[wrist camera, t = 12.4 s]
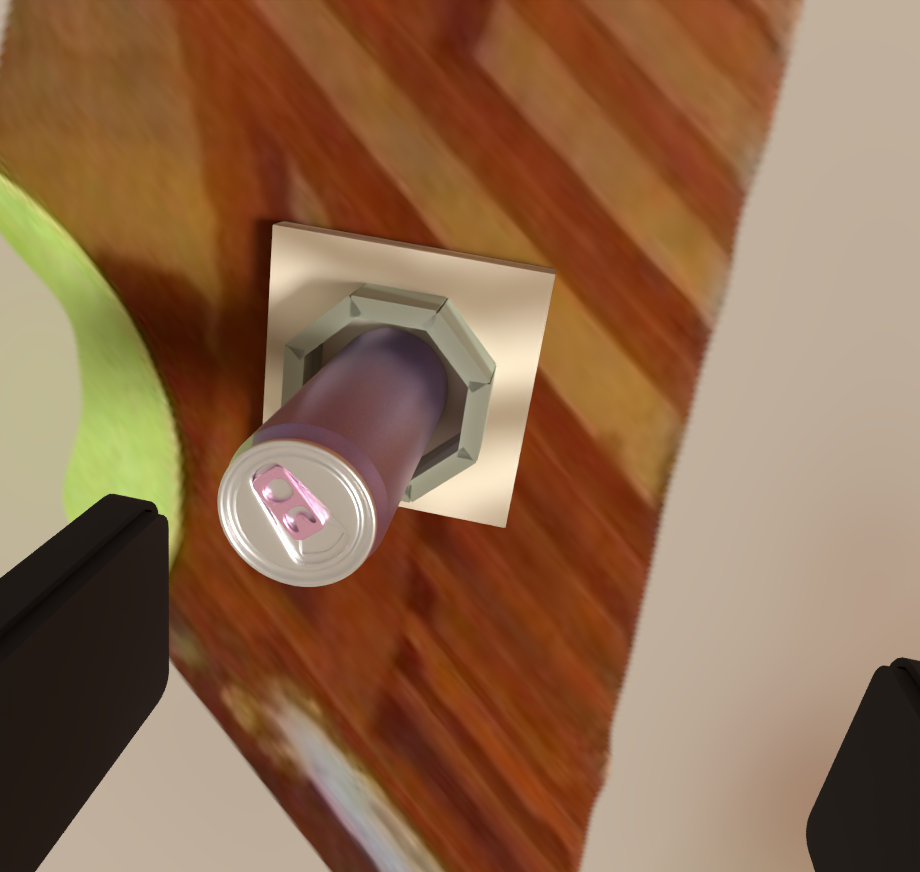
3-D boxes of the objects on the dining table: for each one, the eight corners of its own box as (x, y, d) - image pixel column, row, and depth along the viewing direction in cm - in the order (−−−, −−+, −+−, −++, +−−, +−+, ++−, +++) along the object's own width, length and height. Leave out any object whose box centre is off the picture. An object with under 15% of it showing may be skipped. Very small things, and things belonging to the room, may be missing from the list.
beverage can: (407, 302, 38) (310, 403, 24) (472, 400, 39) (415, 548, 26) (315, 362, 40) (177, 487, 26) (380, 453, 41) (281, 617, 28)
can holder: (283, 221, 39) (248, 232, 35) (556, 269, 38) (553, 286, 34) (269, 467, 44) (238, 502, 40) (507, 515, 43) (500, 555, 39)
